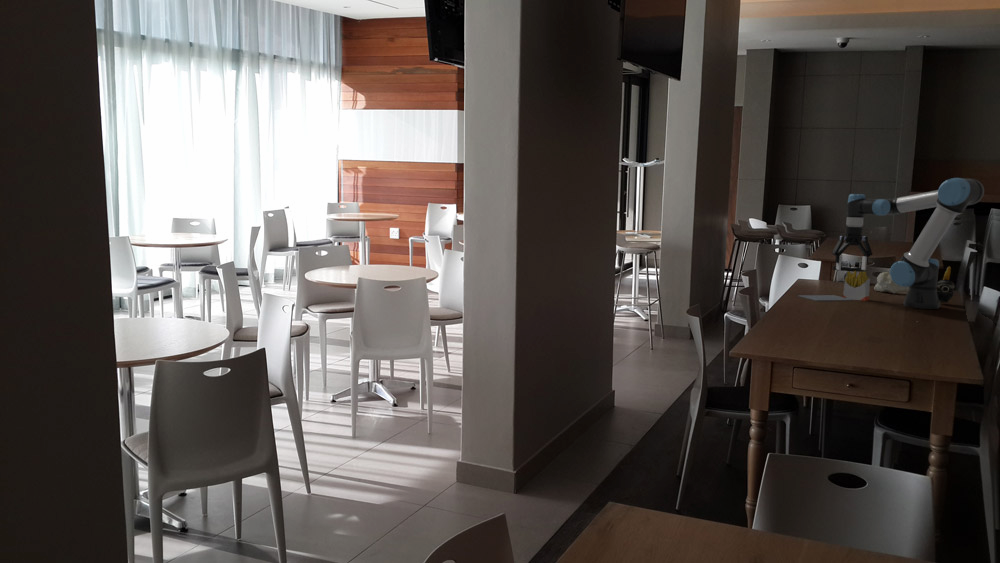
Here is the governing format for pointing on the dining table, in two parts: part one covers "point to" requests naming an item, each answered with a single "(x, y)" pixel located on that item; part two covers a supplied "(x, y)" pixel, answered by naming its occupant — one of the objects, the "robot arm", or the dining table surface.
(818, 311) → the dining table surface
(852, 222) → the robot arm
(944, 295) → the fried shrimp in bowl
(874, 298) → the dining table surface
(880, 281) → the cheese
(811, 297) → the mat
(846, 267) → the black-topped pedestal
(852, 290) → the french fries container
